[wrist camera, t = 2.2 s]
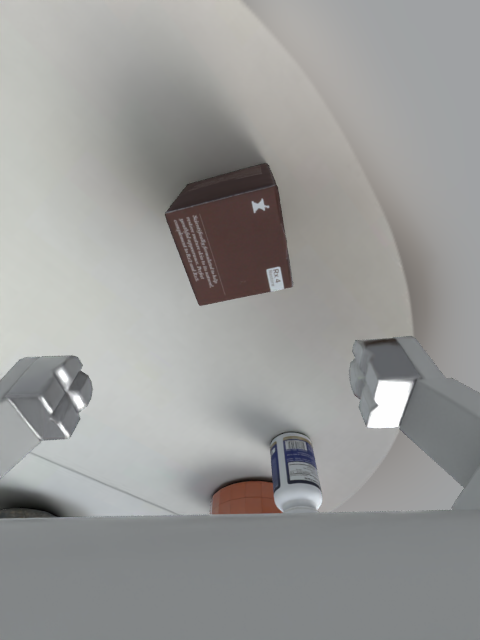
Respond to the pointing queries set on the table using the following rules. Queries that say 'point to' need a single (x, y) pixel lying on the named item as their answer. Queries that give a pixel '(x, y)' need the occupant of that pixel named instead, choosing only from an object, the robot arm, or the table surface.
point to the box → (231, 235)
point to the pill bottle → (295, 474)
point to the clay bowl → (245, 499)
